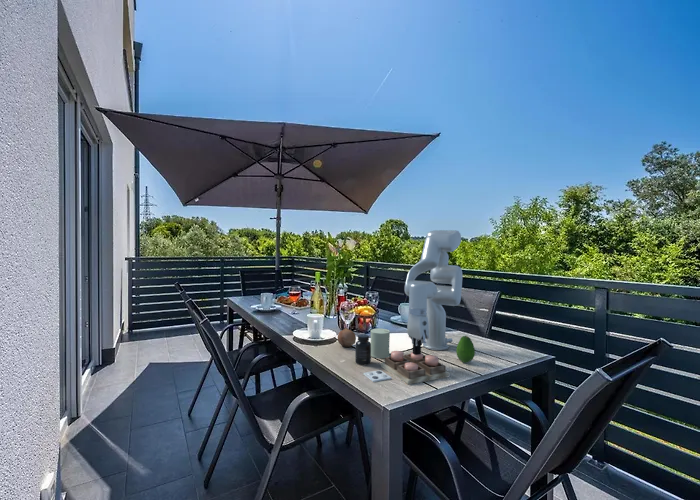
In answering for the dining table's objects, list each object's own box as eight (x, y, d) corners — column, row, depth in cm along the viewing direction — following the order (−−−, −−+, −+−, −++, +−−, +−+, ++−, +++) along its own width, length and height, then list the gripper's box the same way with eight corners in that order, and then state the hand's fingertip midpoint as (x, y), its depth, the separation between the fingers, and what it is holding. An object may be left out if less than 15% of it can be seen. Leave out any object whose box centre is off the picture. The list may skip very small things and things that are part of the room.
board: (419, 360, 154) (419, 351, 154) (449, 376, 136) (449, 366, 136) (380, 366, 145) (381, 357, 145) (407, 384, 127) (408, 373, 127)
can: (388, 359, 155) (389, 333, 154) (368, 357, 156) (369, 331, 156) (390, 352, 164) (390, 328, 163) (371, 351, 165) (371, 326, 165)
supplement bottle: (354, 360, 153) (354, 333, 152) (369, 359, 153) (370, 333, 153) (356, 365, 146) (356, 337, 145) (371, 365, 146) (372, 337, 146)
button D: (412, 368, 137) (412, 361, 137) (420, 372, 132) (420, 366, 132) (401, 369, 135) (402, 363, 135) (409, 374, 130) (409, 367, 130)
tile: (380, 371, 139) (380, 369, 139) (391, 378, 132) (391, 376, 132) (363, 374, 136) (363, 372, 136) (373, 382, 129) (373, 380, 129)
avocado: (457, 364, 149) (458, 337, 149) (454, 358, 157) (455, 332, 156) (476, 365, 148) (477, 338, 148) (472, 359, 156) (473, 333, 155)
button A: (418, 357, 150) (418, 351, 150) (425, 360, 146) (425, 354, 146) (408, 358, 148) (408, 352, 148) (415, 362, 144) (415, 356, 144)
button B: (432, 360, 141) (432, 354, 141) (440, 364, 137) (441, 358, 137) (422, 362, 139) (422, 356, 139) (430, 366, 134) (430, 360, 134)
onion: (344, 349, 176) (343, 330, 180) (359, 347, 172) (358, 328, 176) (333, 347, 169) (333, 327, 173) (350, 345, 164) (349, 324, 169)
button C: (399, 356, 146) (399, 350, 146) (406, 360, 141) (406, 353, 141) (388, 357, 144) (388, 351, 144) (395, 361, 139) (395, 355, 139)
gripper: (435, 314, 141) (434, 358, 142) (414, 308, 155) (413, 348, 155) (421, 315, 138) (420, 360, 138) (400, 309, 152) (399, 349, 152)
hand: (416, 353), depth 147 cm, fingers closed
